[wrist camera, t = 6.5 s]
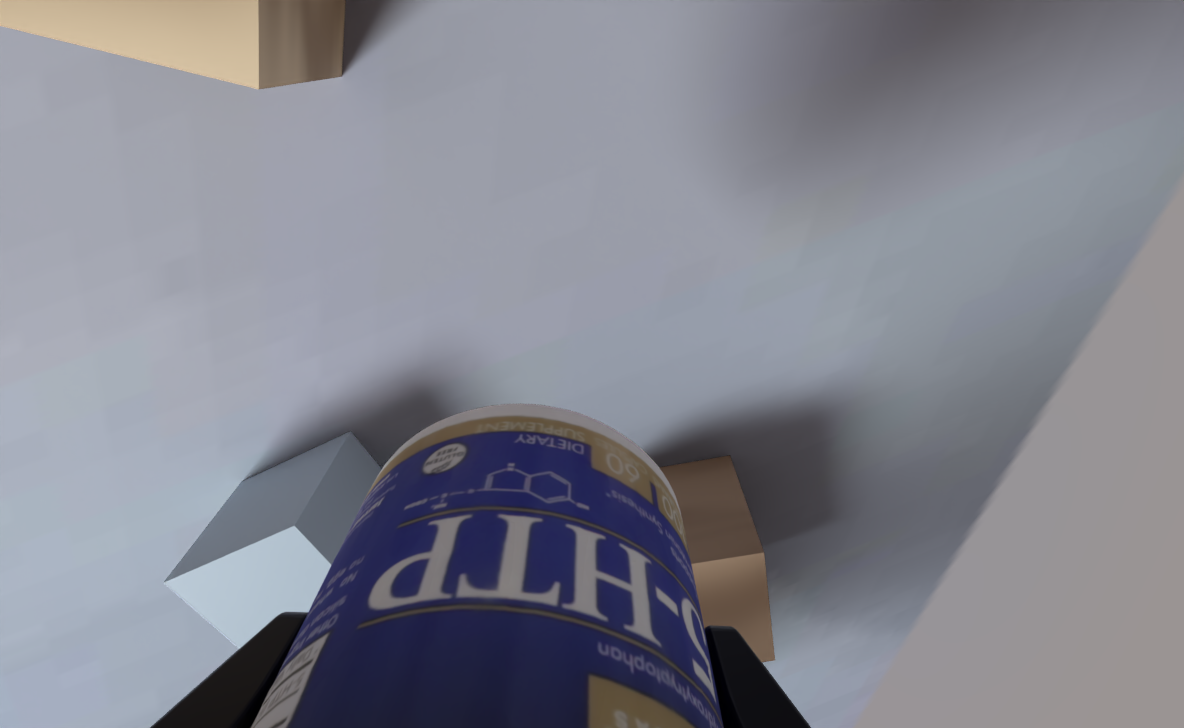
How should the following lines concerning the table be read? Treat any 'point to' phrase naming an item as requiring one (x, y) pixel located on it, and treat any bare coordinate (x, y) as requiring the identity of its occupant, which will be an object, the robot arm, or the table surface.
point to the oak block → (200, 34)
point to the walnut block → (724, 550)
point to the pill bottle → (506, 589)
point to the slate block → (275, 539)
